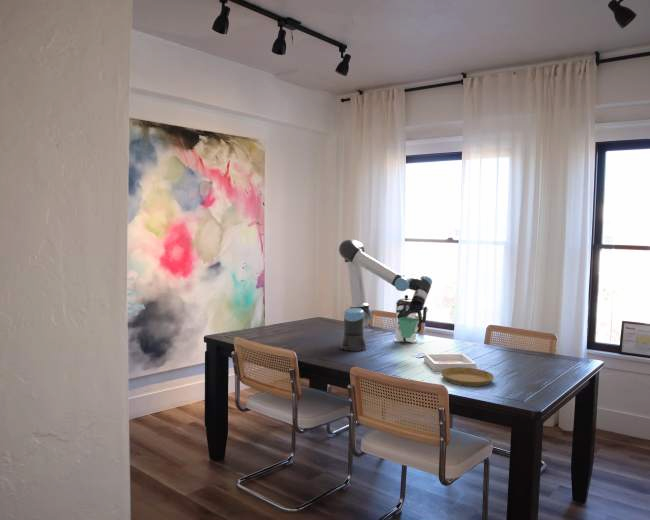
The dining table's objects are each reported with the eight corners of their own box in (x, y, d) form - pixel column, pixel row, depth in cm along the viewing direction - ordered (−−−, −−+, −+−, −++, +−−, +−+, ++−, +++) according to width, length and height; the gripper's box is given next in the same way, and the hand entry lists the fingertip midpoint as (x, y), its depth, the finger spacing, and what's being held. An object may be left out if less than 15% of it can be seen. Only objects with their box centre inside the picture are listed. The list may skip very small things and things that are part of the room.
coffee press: (417, 345, 323) (418, 297, 322) (391, 343, 328) (392, 295, 327) (421, 340, 340) (422, 294, 338) (396, 338, 345) (397, 292, 343)
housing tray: (434, 371, 264) (434, 363, 263) (424, 360, 285) (424, 353, 285) (476, 371, 265) (476, 363, 264) (462, 361, 286) (463, 353, 286)
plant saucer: (502, 388, 238) (502, 380, 238) (450, 388, 236) (450, 381, 236) (482, 373, 262) (482, 367, 262) (434, 374, 260) (434, 367, 260)
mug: (407, 339, 286) (408, 321, 285) (393, 335, 293) (395, 318, 292) (424, 337, 295) (426, 319, 294) (411, 332, 303) (413, 315, 301)
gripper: (438, 305, 300) (427, 337, 288) (403, 301, 312) (390, 331, 300) (435, 296, 296) (424, 329, 283) (399, 293, 307) (387, 324, 295)
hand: (406, 330), depth 291 cm, fingers closed on mug, 9 cm apart
